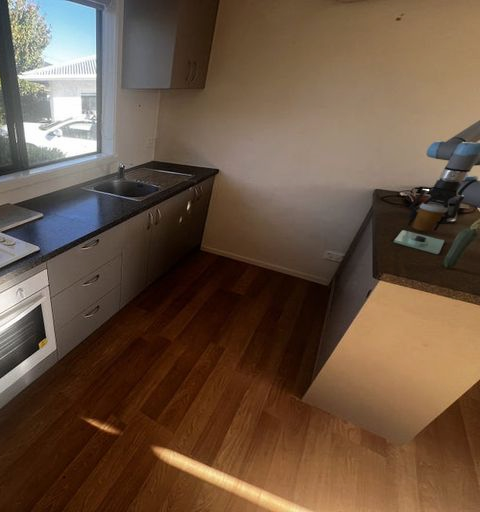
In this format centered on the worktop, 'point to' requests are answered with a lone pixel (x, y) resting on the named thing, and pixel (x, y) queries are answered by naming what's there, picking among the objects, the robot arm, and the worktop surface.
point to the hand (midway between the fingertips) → (421, 227)
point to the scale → (409, 240)
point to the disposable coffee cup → (428, 215)
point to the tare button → (420, 239)
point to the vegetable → (461, 244)
